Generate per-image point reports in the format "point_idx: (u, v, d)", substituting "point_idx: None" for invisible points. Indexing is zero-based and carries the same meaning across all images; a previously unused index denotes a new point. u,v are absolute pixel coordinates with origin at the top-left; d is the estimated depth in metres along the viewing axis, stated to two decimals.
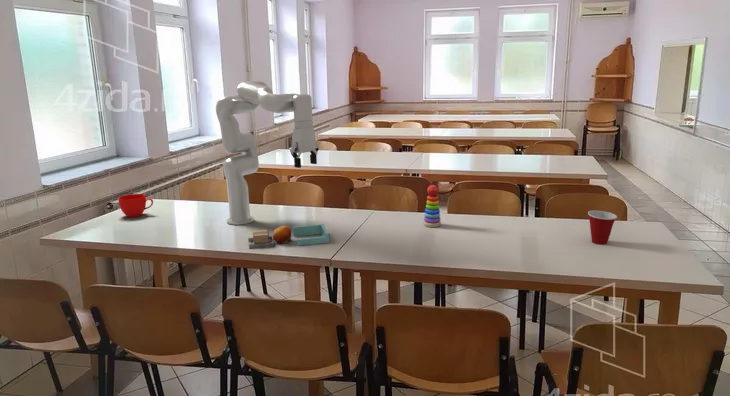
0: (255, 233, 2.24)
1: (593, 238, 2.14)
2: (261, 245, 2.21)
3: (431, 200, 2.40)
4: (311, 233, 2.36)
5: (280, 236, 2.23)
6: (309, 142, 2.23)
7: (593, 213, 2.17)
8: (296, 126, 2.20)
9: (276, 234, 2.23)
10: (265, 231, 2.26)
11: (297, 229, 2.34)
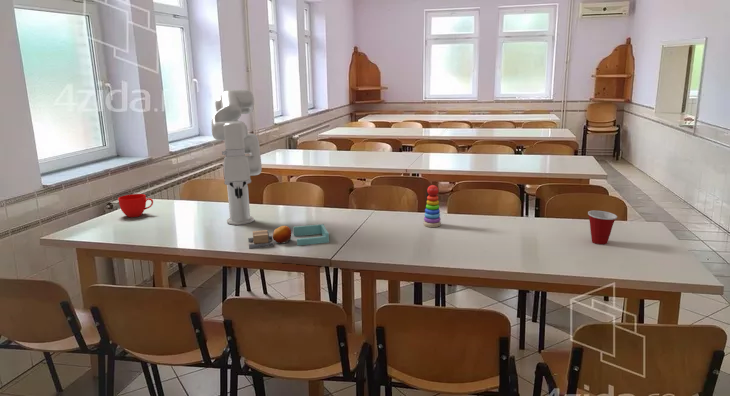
0: (255, 233, 2.24)
1: (593, 238, 2.14)
2: (261, 245, 2.21)
3: (431, 200, 2.40)
4: (311, 233, 2.36)
5: (280, 236, 2.23)
6: None
7: (593, 213, 2.17)
8: (244, 153, 2.18)
9: (276, 234, 2.23)
10: (265, 231, 2.26)
11: (297, 229, 2.34)
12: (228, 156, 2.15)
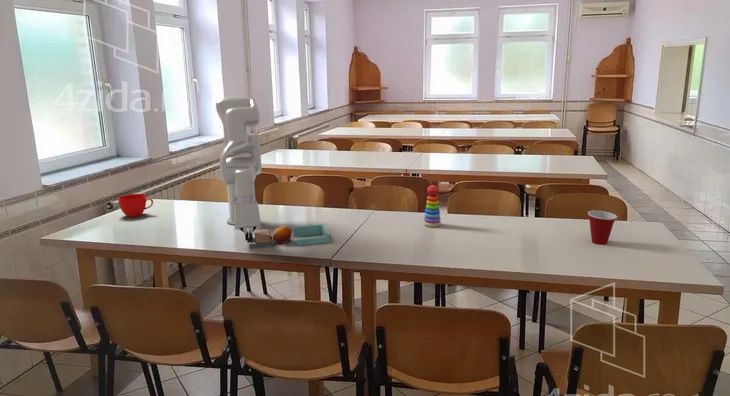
0: (257, 232, 2.25)
1: (593, 238, 2.14)
2: (261, 245, 2.21)
3: (431, 200, 2.40)
4: (311, 233, 2.36)
5: (280, 236, 2.23)
6: None
7: (593, 213, 2.17)
8: None
9: (276, 234, 2.23)
10: (267, 231, 2.26)
11: (297, 229, 2.34)
12: (239, 203, 2.17)
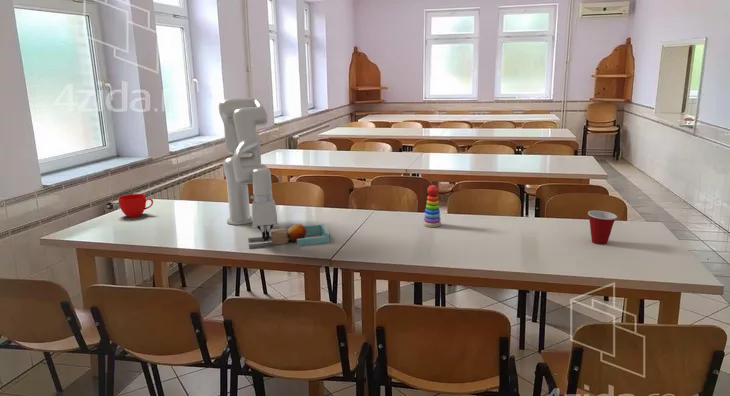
0: (273, 231, 2.26)
1: (593, 238, 2.14)
2: (261, 245, 2.21)
3: (431, 200, 2.40)
4: (311, 233, 2.36)
5: (296, 234, 2.25)
6: None
7: (593, 213, 2.17)
8: None
9: (292, 232, 2.24)
10: (283, 229, 2.28)
11: None
12: (256, 201, 2.19)
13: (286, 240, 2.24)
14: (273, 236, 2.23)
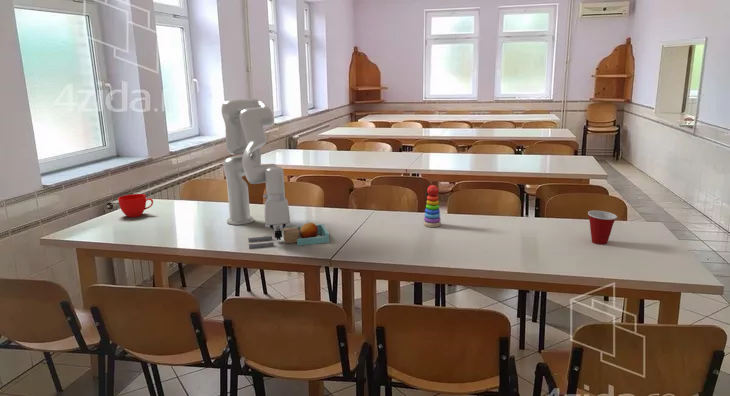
0: (286, 230, 2.27)
1: (593, 238, 2.14)
2: (261, 245, 2.21)
3: (431, 200, 2.40)
4: None
5: (308, 233, 2.26)
6: None
7: (593, 213, 2.17)
8: (284, 197, 2.23)
9: (304, 231, 2.26)
10: (296, 228, 2.29)
11: None
12: (269, 200, 2.20)
13: None
14: (286, 235, 2.24)
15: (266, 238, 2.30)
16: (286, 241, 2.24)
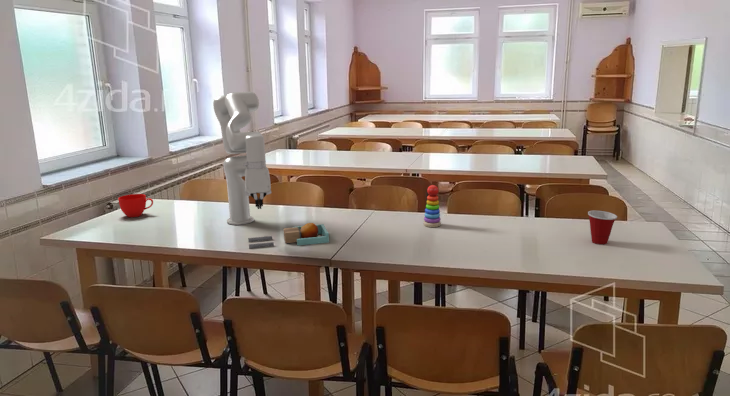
0: (286, 230, 2.27)
1: (593, 238, 2.14)
2: (261, 245, 2.21)
3: (431, 200, 2.40)
4: None
5: (309, 233, 2.26)
6: None
7: (593, 213, 2.17)
8: (265, 165, 2.20)
9: (305, 231, 2.26)
10: (296, 228, 2.29)
11: None
12: (250, 168, 2.17)
13: None
14: (286, 235, 2.24)
15: (266, 238, 2.30)
16: (286, 241, 2.24)
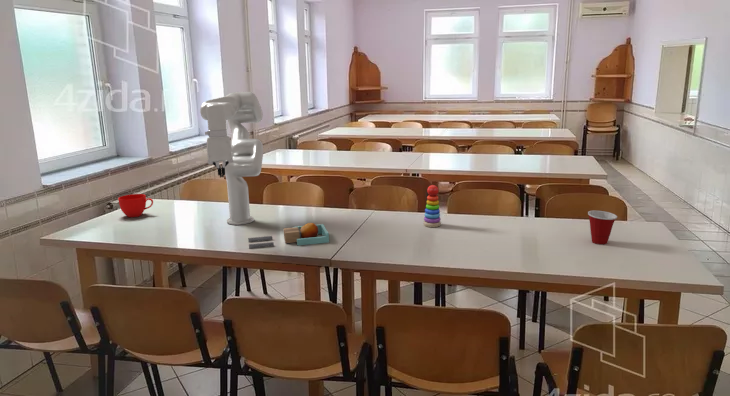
0: (286, 230, 2.27)
1: (593, 238, 2.14)
2: (261, 245, 2.21)
3: (431, 200, 2.40)
4: None
5: (309, 233, 2.26)
6: None
7: (593, 213, 2.17)
8: None
9: (305, 231, 2.26)
10: (296, 228, 2.29)
11: None
12: (211, 136, 2.22)
13: None
14: (286, 235, 2.24)
15: (266, 238, 2.30)
16: (286, 241, 2.24)
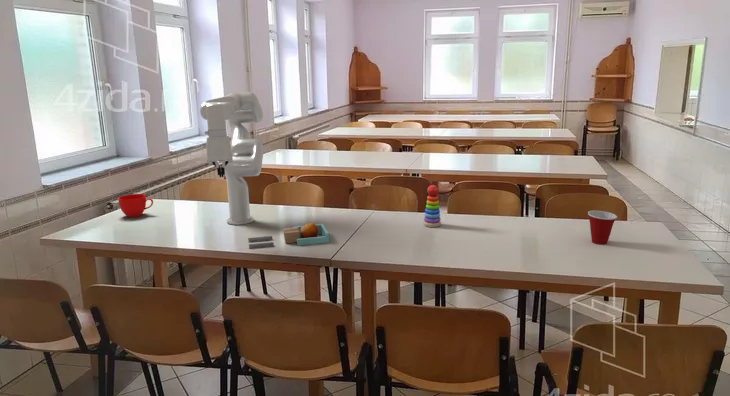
0: (286, 230, 2.27)
1: (593, 238, 2.14)
2: (261, 245, 2.21)
3: (431, 200, 2.40)
4: None
5: (309, 233, 2.26)
6: None
7: (593, 213, 2.17)
8: (226, 134, 2.25)
9: (305, 231, 2.26)
10: (296, 228, 2.29)
11: None
12: (210, 136, 2.22)
13: None
14: (286, 235, 2.24)
15: (266, 238, 2.30)
16: (286, 241, 2.24)
